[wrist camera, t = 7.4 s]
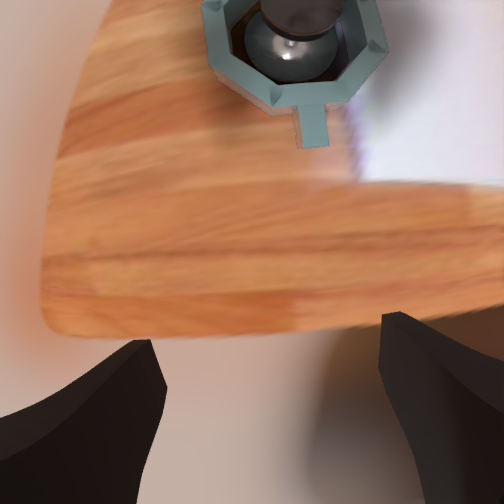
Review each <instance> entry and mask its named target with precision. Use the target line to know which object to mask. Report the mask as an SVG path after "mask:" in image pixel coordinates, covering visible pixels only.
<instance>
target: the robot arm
mask: <svg viewBox="0 0 504 504" xmlns="http://www.w3.org/2000/svg"><path fill="white" fill-rule="evenodd" d="M378 368H379V372H380V375H381V378H382V382H383V385H384V388H385V391H386V394H387V396H388V398H389V400H390V403H391V405H392V407H393V409H394V411H395V413H396V416H397V418H398V420H399V422H400V425H401V426H402V429H403V431H404V433H405V435H406V438H407V440H408V442H409V445H410V447H411V450H412V453H413V455H414V459H415V462H416V466H417V469H418V473H419V477H420V481H421V485H422V490H423V494H424V499H425V504H504V361H501V360H498V359H495V358H493V357H490V356H487V355H485V354H482V353H480V352H478V351H475V350H473V349H471V348H469V347H467V346H465V345H462V344H460V343H459V342H457V341H455V340H453V339H451V338H449V337H447V336H445V335H443V334H441V333H440V332H438V331H436V330H434V329H432V328H431V327H429V326H427V325H425V324H423V323H422V322H420V321H418V320H416V319H414V318H413V317H411V316H409V315H407V314H405V313H403V312H400V311H399V312H393V313H388V314H382V322H381V339H380V351H379V362H378ZM166 393H167V385H166V382H165V380H164V377H163V374H162V372H161V369H160V366H159V363H158V361H157V358H156V355H155V352H154V349H153V346H152V343H151V340H150V339H147V340H133V341H131V342H129V343H127V344H126V345H124V346H123V347H122V348H120V349H119V350H117V351H116V352H114V353H113V354H112V355H110V356H109V357H108V358H106V359H105V360H104V361H102V362H101V363H99V364H98V365H96V366H95V367H94V368H92V369H91V370H90V371H88V372H87V373H85V374H84V375H83V376H81V377H79V378H78V379H77V380H75V381H73V382H72V383H70V384H69V385H67V386H66V387H65V388H63V389H61V390H60V391H58V392H56V393H55V394H53V395H51V396H49V397H47V398H45V399H44V400H42V401H40V402H38V403H36V404H34V405H32V406H29V407H27V408H24V409H22V410H20V411H17V412H15V413H12V414H10V415H7V416H5V417H2V418H0V504H136V503H137V497H138V492H139V487H140V481H141V477H142V473H143V469H144V466H145V463H146V460H147V457H148V454H149V451H150V448H151V446H152V443H153V440H154V437H155V434H156V431H157V429H158V426H159V423H160V420H161V417H162V414H163V409H164V404H165V399H166Z"/></svg>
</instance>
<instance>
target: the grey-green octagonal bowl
mask: <svg viewBox="0 0 504 504" xmlns="http://www.w3.org/2000/svg"><path fill="white" fill-rule="evenodd" d="M258 1H260V0H204V1H203V2H202V3H201V10H202V17H203V25H204V32H205V40H206V47H207V54H208V61H209V66H210V68H211V69H212V71H213V72H214V74H215V75H216V77H217V78H218V80H219V81H220V82H222V83H223V84H225V85H226V86H228V87H229V88H231V89H232V90H234V91H235V92H237V93H238V94H240V95H241V96H243V97H244V98H246V99H247V100H248V101H250V102H251V103H253V104H254V105H256V106H257V107H258V108H260V109H261V110H263V111H264V112H265V113H267V114H268V115H270V116H275V115H284V114H292V116H293V123H294V130H295V137H296V144H297V149H305V148H315V147H326V146H330V144H329V136H328V129H327V121H326V114H325V111H333V110H335V109H336V108H338V107H340V106H342V105H344V104H345V103H347V102H349V101H350V99H351V98H352V97H353V96H354V94H355V93H356V92H357V91H358V90H359V88H360V87H361V86H362V85H363V83H364V82H365V81H366V80H367V79H368V77H369V76H370V75H371V74H372V72H373V71H374V70H375V69H376V68H377V66H378V65H379V64H380V63H381V62H382V60H383V59H384V58H385V57H386V55H387V54H388V48H387V44H386V39H385V35H384V31H383V27H382V23H381V19H380V15H379V12H378V8H377V5H376V1H375V0H344V6H343V10H342V13H341V15H340V17H339V18H338V21H339V22H341V25H342V29H343V33H344V38H345V43H346V47H347V52H348V57H349V63H348V64H347V66H346V67H345V68H344V69H343V70H342V72H341V73H340V74H339V75H338V76H337V77H336V79H335V80H334V81H330V82H312V83H299V84H287V85H277V84H275V83H274V82H272V81H271V80H270V79H268V78H267V77H265V76H264V75H262V74H261V73H259V72H258V71H256V70H255V69H253V68H252V67H250V66H249V65H247V64H246V63H244V62H243V61H241V60H239V59H238V58H236V57H235V56H234V52H233V46H232V39H231V33H230V31H231V30H232V28H233V27H234V26H235V25H236V24H237V23H238V22H239V21H240V20H241V19H242V18H243V16H244V15H245V14H246V13H247V12H248V11H249V10H250V9H251V8H252V7H253V6H254V5H255V4H256V3H257V2H258Z"/></svg>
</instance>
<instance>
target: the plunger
mask: <svg viewBox="0 0 504 504" xmlns="http://www.w3.org/2000/svg"><path fill="white" fill-rule="evenodd" d="M260 5H261V10H259V11H258V12H257V13H256V14H255V15H254V16H253V17H252V18H251V19H250V21H249V23H248V25H247V27H246V30H245V37H244V40H245V47H246V52H247V54H248V57H249V59H250V60H251V62H252V63H253V64H254V66H255V67H256V68H257V69H258V70H259V71H261V72H262V73H263V74H265V75H266V76H268V77H270V78H272V79H275V80H278V81H282V82H288V83H299V82H305V81H309V80H312V79H314V78H316V77H318V76H320V75H321V74H322V73H324V72H325V71H326V70H327V69H328V67H329V66H330V65H331V63H332V62H333V60H334V58H335V56H336V53H337V48H338V40H337V35H336V32H335V30H334V25H335V23H336V22H337V20H338V18H339V17H340V15H341V13H342V10H343V6H344V0H260Z"/></svg>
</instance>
